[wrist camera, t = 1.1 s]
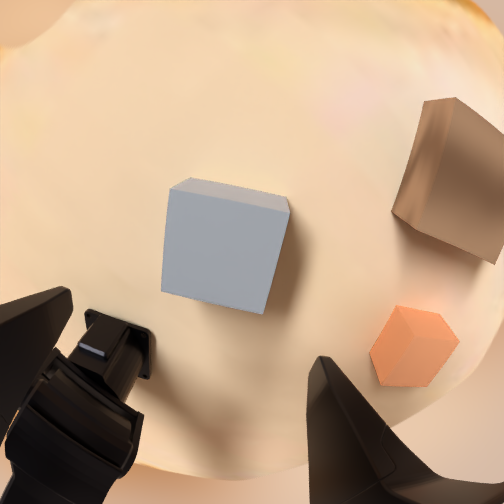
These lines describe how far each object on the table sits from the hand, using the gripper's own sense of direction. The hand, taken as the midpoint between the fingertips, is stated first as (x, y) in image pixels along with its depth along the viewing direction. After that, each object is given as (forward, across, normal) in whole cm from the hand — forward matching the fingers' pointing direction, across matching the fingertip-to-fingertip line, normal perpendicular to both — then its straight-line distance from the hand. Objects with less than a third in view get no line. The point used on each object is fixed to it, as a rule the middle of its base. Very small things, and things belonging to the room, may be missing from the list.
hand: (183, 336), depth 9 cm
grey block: (+10, 0, 0) cm, 10 cm away
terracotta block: (+10, -16, +5) cm, 20 cm away
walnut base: (+10, -14, -8) cm, 19 cm away
